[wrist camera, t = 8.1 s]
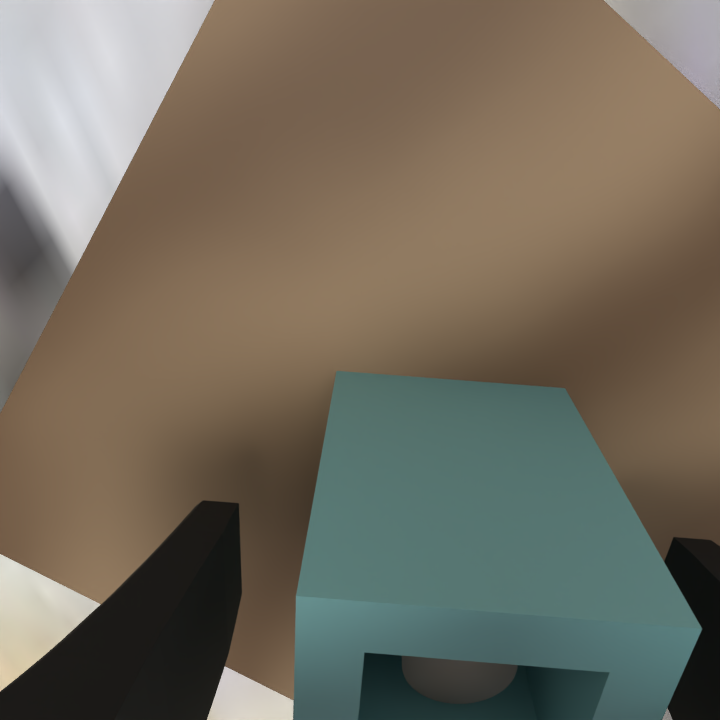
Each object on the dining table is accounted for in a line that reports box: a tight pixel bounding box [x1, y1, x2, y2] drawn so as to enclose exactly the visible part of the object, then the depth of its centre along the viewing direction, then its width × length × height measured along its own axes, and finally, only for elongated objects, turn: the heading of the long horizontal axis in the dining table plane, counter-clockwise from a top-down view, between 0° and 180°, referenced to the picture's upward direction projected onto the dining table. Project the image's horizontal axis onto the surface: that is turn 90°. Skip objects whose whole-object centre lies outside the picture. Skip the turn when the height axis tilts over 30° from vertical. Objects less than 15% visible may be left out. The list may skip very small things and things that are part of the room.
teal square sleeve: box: [293, 371, 702, 720], centre depth 10 cm, size 4×4×6 cm
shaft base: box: [0, 0, 720, 704], centre depth 11 cm, size 16×16×6 cm
